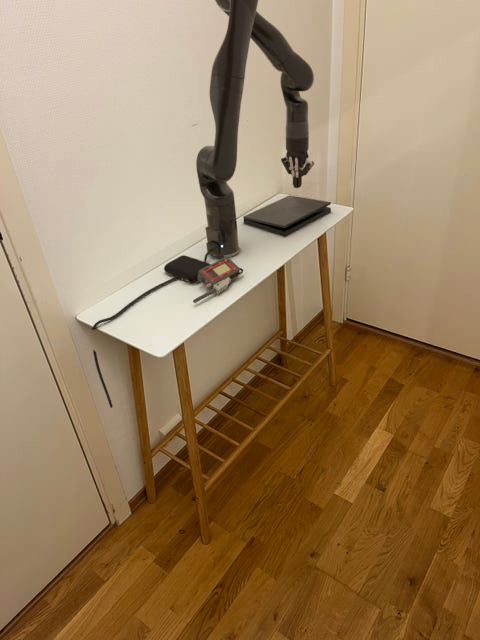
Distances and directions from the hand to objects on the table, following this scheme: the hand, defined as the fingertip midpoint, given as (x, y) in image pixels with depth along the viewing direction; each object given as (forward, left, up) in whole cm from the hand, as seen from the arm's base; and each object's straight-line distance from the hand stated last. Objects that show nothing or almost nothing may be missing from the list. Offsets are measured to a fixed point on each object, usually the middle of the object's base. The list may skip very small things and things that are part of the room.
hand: (297, 187), depth 156 cm
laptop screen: (0, +5, -10) cm, 11 cm away
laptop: (0, +5, -13) cm, 13 cm away
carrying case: (-50, +2, -13) cm, 51 cm away
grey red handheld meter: (-51, -12, -8) cm, 53 cm away
